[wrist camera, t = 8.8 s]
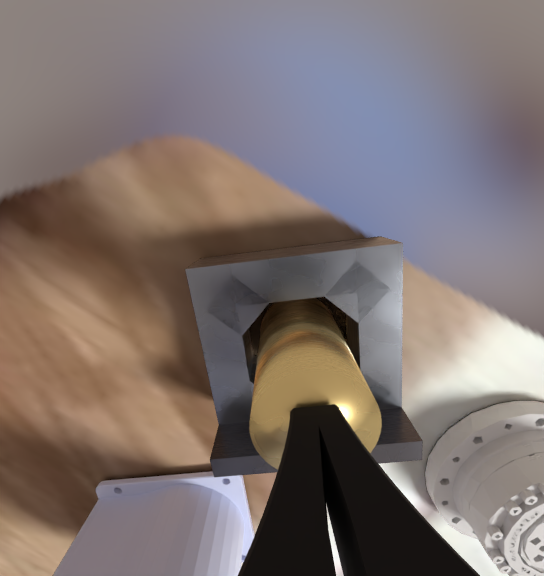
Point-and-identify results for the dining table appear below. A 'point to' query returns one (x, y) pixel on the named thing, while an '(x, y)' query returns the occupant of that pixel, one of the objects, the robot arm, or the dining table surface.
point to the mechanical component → (495, 483)
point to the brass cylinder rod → (306, 376)
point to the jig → (292, 286)
